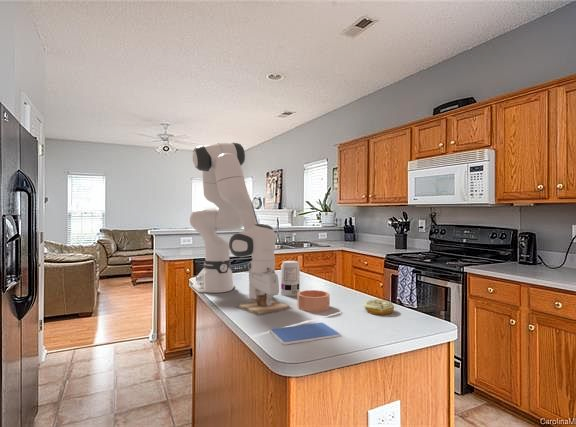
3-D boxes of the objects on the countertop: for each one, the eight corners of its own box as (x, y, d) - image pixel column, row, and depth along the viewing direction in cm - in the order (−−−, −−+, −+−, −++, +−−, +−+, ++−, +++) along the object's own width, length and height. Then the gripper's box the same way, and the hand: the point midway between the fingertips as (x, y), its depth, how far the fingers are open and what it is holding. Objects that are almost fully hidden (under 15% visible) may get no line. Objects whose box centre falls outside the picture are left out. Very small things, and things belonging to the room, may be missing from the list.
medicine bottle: (265, 301, 146) (265, 272, 146) (248, 300, 148) (249, 271, 148) (269, 296, 153) (269, 269, 153) (253, 296, 155) (254, 268, 155)
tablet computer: (322, 325, 118) (322, 321, 117) (342, 338, 106) (342, 333, 106) (268, 333, 110) (268, 328, 110) (283, 347, 98) (283, 343, 98)
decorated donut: (359, 312, 132) (359, 302, 132) (373, 306, 140) (373, 296, 140) (384, 317, 125) (384, 307, 125) (398, 311, 133) (398, 301, 133)
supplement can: (277, 295, 156) (277, 261, 156) (289, 292, 162) (290, 259, 162) (290, 298, 151) (290, 263, 151) (303, 295, 157) (303, 261, 157)
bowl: (291, 308, 136) (291, 293, 136) (313, 302, 144) (313, 288, 144) (312, 315, 127) (313, 299, 127) (335, 309, 134) (335, 294, 134)
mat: (234, 307, 136) (234, 306, 136) (267, 301, 146) (267, 299, 146) (258, 317, 124) (258, 316, 124) (292, 309, 134) (292, 308, 134)
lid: (238, 306, 136) (238, 295, 136) (267, 300, 145) (267, 290, 145) (259, 314, 125) (259, 302, 125) (289, 308, 134) (289, 296, 134)
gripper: (283, 269, 127) (283, 308, 127) (260, 262, 145) (260, 295, 145) (267, 271, 124) (267, 310, 124) (246, 263, 142) (246, 297, 142)
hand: (263, 302), depth 135 cm, fingers open, 8 cm apart
